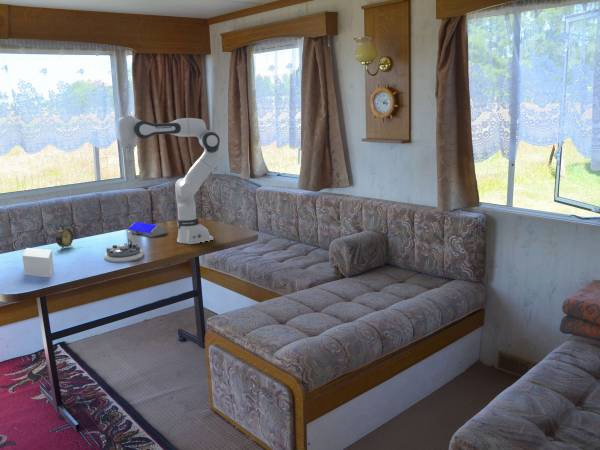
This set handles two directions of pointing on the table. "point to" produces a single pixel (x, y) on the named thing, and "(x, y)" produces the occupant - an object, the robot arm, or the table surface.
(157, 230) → the blue screen device
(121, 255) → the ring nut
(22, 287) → the table surface
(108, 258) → the base plate
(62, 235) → the alarm clock
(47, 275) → the white box
